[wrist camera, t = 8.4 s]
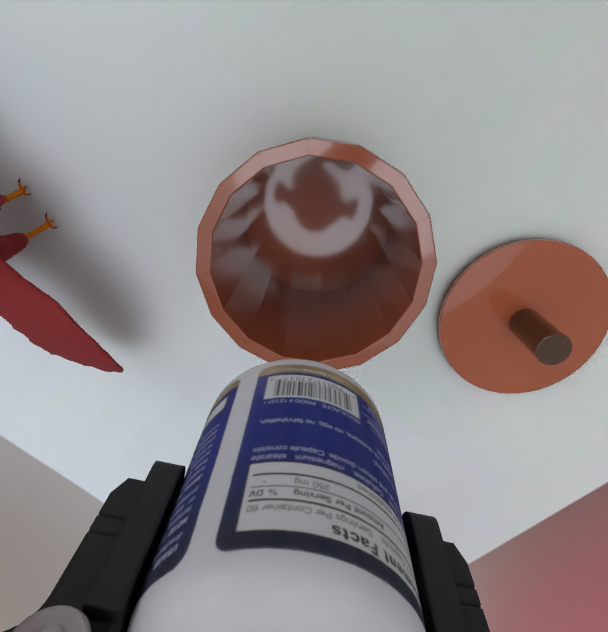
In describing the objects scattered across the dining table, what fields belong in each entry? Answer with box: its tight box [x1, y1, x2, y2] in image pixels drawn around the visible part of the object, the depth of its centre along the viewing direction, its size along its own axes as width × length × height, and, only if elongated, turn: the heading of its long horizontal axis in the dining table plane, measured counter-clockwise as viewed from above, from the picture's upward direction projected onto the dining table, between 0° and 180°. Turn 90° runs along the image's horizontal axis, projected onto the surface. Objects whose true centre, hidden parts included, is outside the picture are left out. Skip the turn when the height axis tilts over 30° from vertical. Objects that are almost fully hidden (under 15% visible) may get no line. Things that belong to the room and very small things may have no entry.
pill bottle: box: [127, 359, 426, 632], centre depth 10 cm, size 6×6×10 cm
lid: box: [438, 239, 608, 393], centre depth 34 cm, size 14×14×6 cm
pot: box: [196, 137, 437, 369], centre depth 29 cm, size 13×13×12 cm
